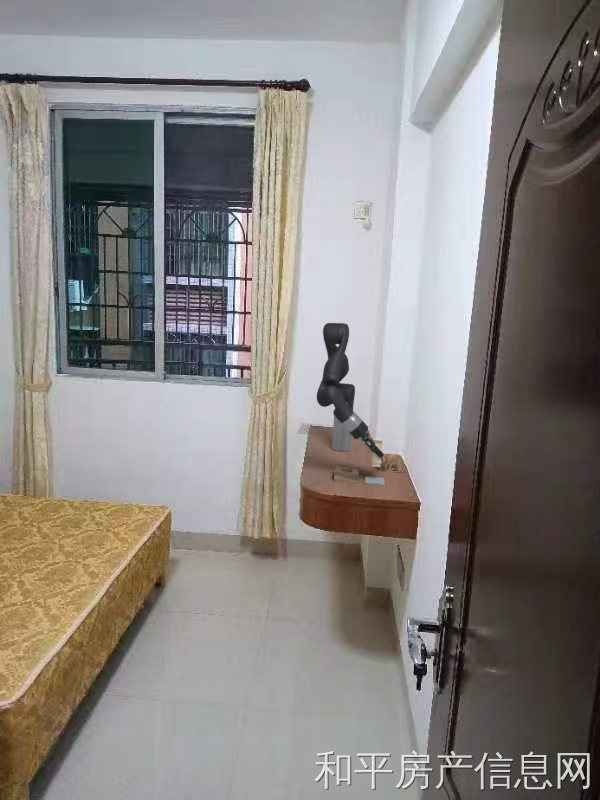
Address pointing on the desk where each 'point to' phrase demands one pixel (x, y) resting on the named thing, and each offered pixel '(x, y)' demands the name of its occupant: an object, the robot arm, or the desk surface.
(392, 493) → the desk surface
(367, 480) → the slate mat
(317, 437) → the desk surface
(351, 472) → the socket block
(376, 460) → the birch peg
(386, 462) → the lion figurine
